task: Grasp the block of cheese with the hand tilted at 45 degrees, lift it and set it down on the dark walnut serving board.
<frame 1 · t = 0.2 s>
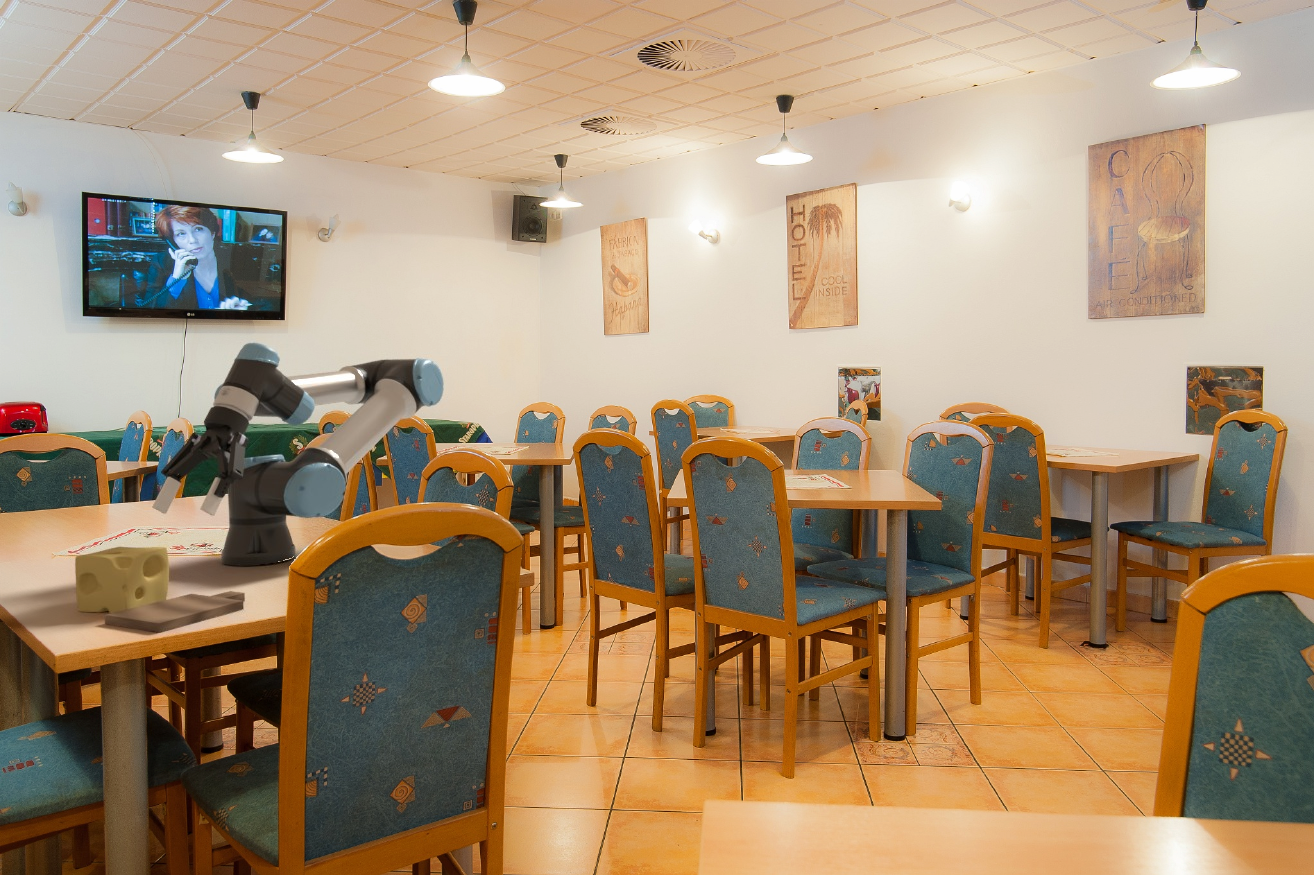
hand: (182, 511, 166), 15 cm above the table, tool tilted 35°, fingers open, 13 cm apart
cheese: (123, 607, 158), on the table
board: (176, 616, 151), on the table
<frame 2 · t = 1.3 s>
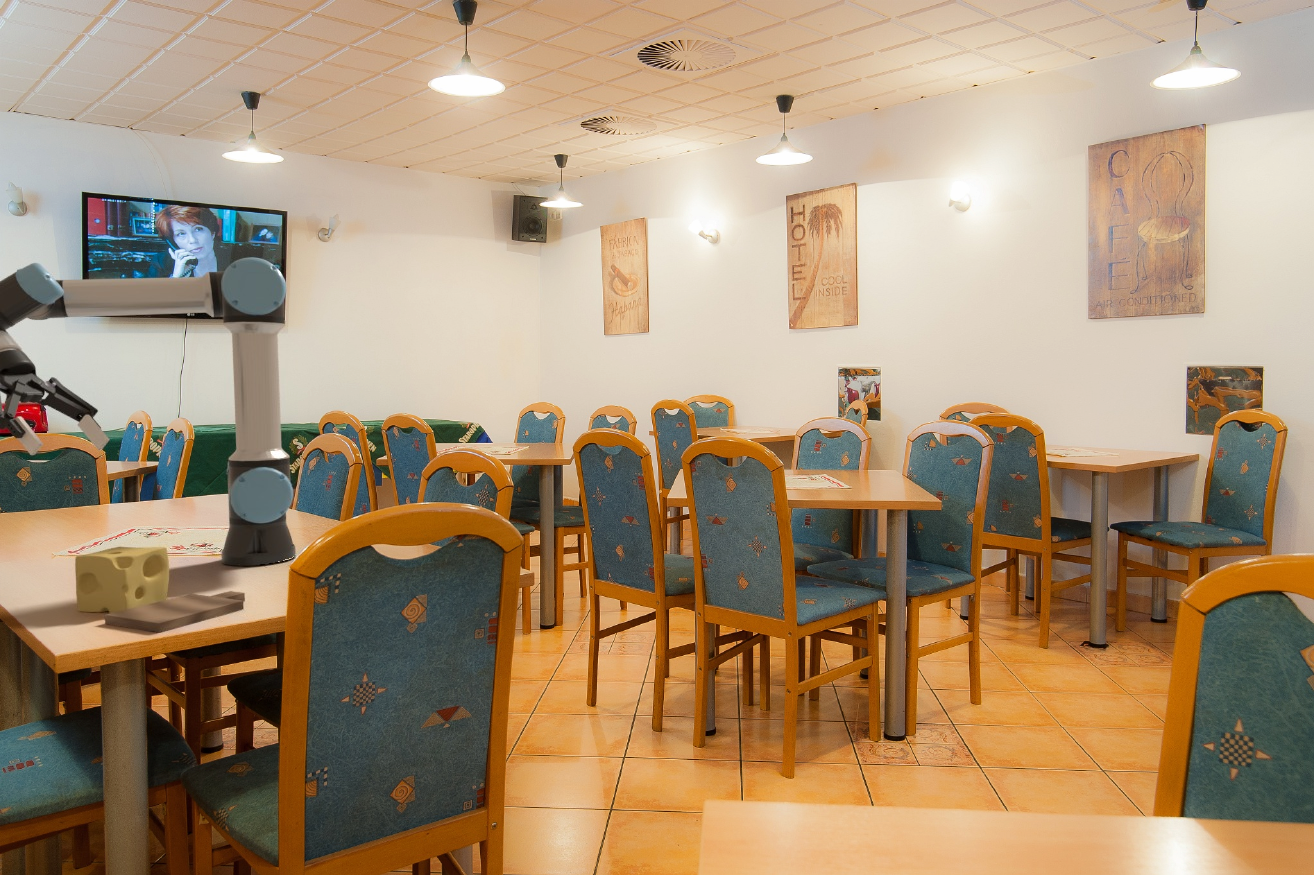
hand: (72, 447, 159), 28 cm above the table, tool tilted 45°, fingers open, 13 cm apart
nothing on the table moved.
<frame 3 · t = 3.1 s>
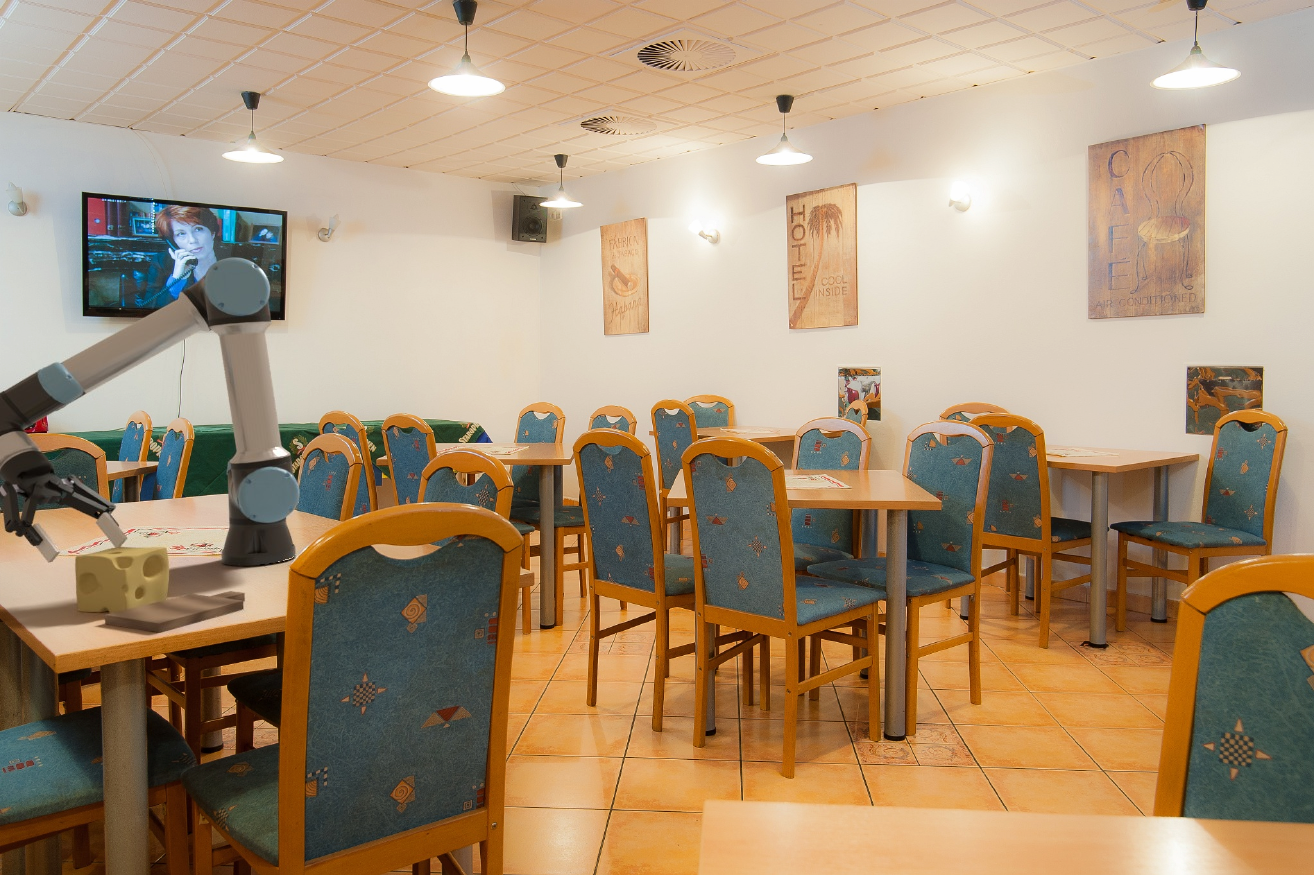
hand: (89, 550, 158), 10 cm above the table, tool tilted 45°, fingers open, 13 cm apart
nothing on the table moved.
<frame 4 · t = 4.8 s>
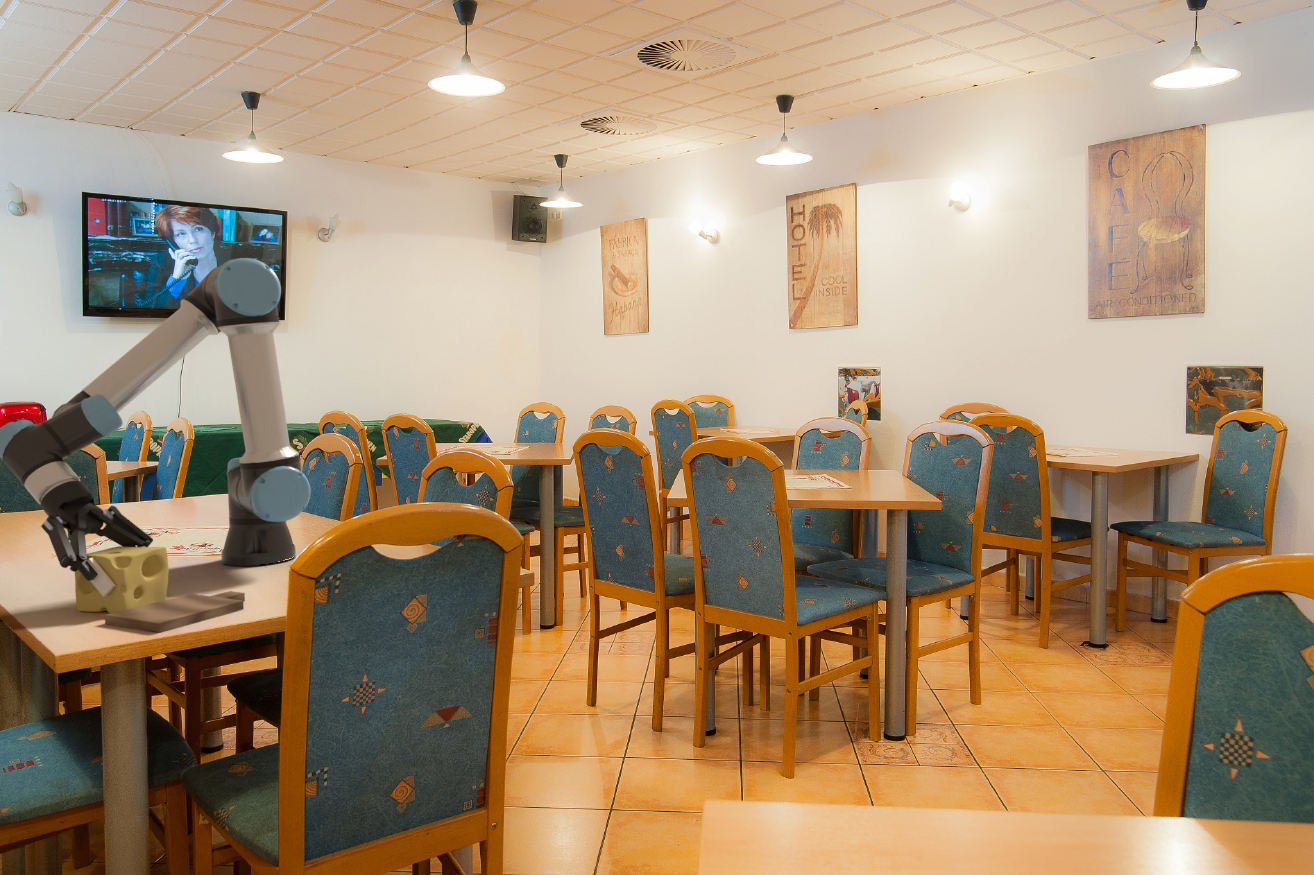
hand: (136, 584, 157), 4 cm above the table, tool tilted 45°, fingers closed on cheese, 10 cm apart
cheese: (122, 607, 158), on the table, touching gripper
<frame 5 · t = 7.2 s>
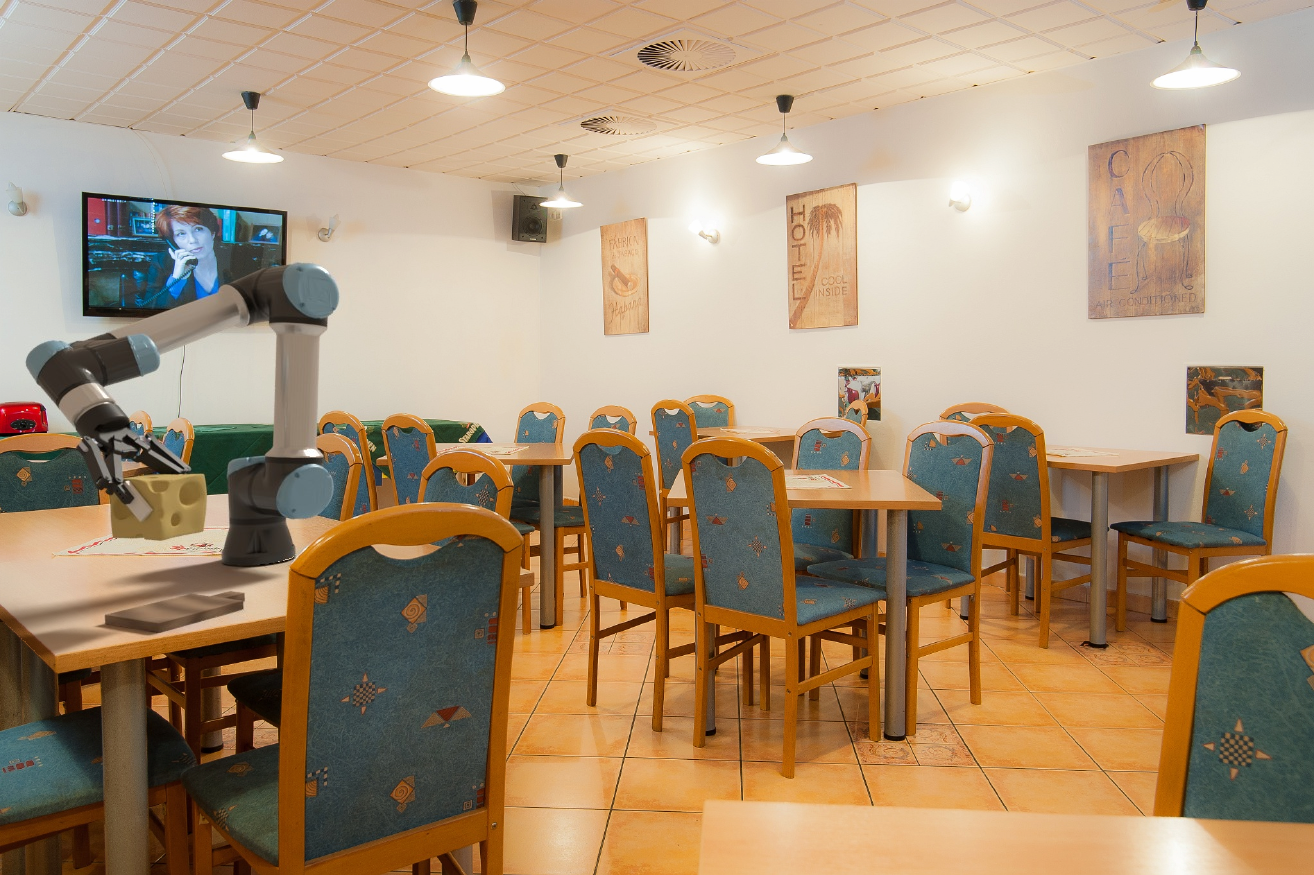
hand: (173, 511, 149), 18 cm above the table, tool tilted 45°, fingers closed on cheese, 10 cm apart
cheese: (159, 536, 150), point 14 cm above the table, touching gripper
when the fingers open (7 cm above the table, at t = 10.0 s): cheese drops 1 cm, resting on board.
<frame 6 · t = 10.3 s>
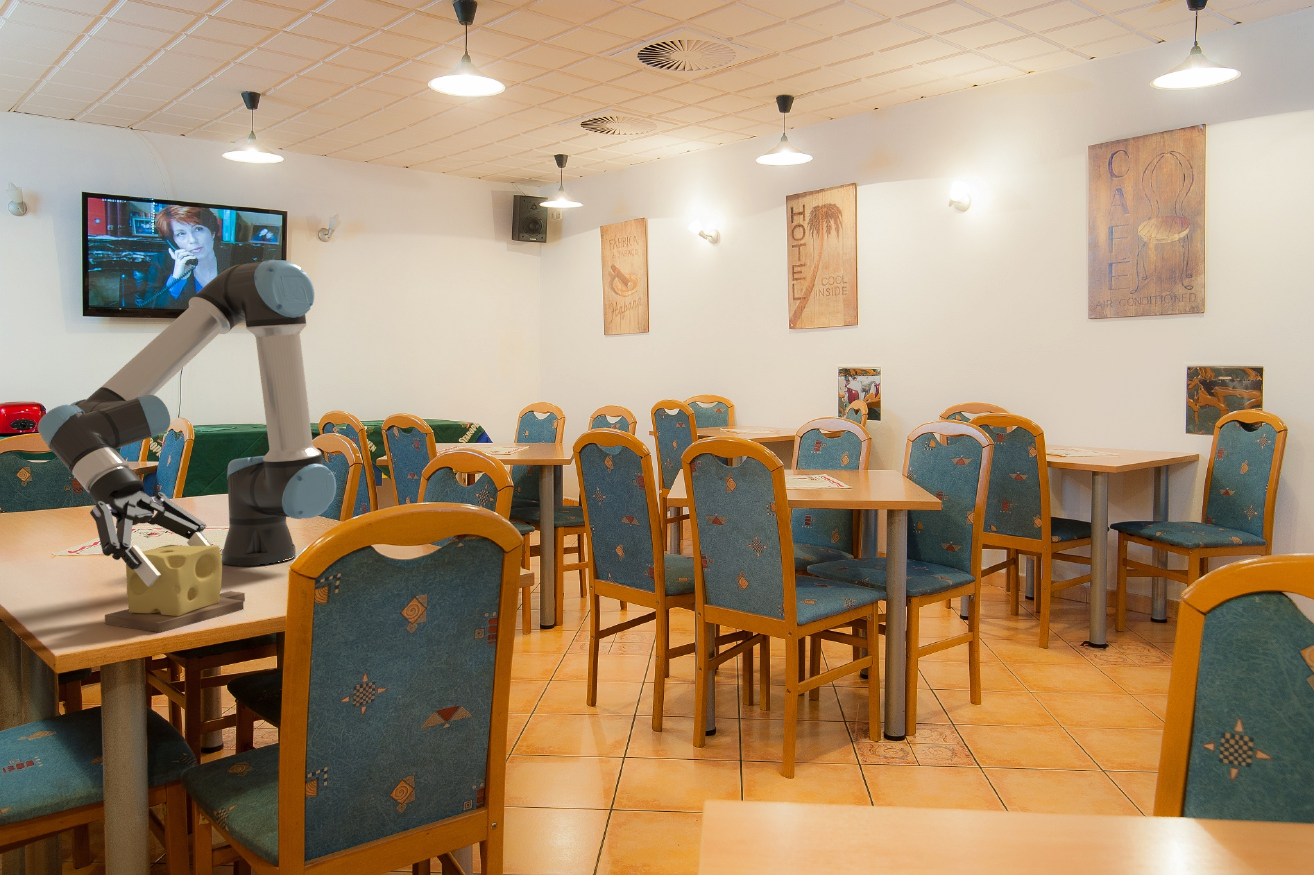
hand: (186, 572, 150), 8 cm above the table, tool tilted 45°, fingers open, 13 cm apart
cheese: (175, 609, 150), point 1 cm above the table, touching board
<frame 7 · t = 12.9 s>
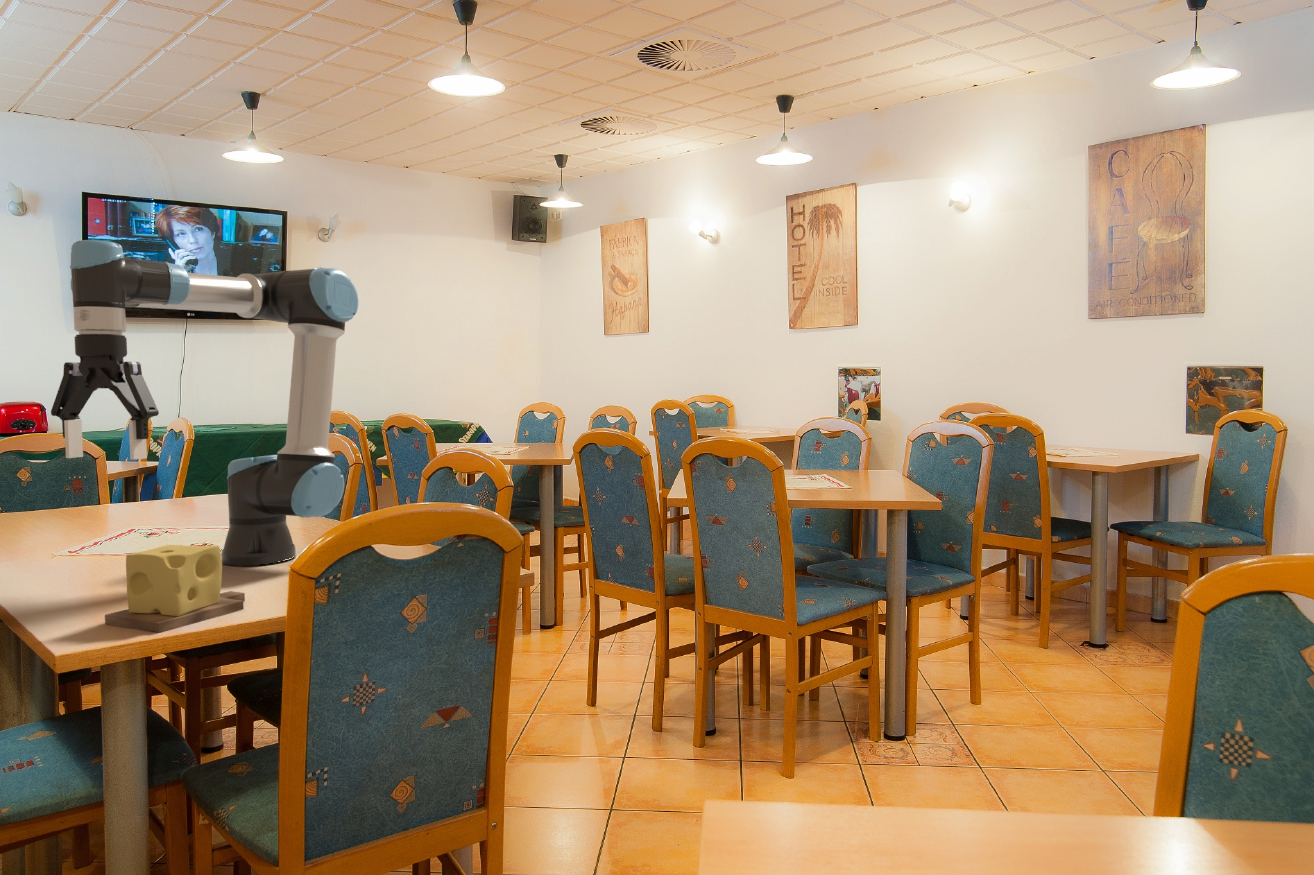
hand: (106, 458, 153), 27 cm above the table, tool pointing down, fingers open, 13 cm apart
nothing on the table moved.
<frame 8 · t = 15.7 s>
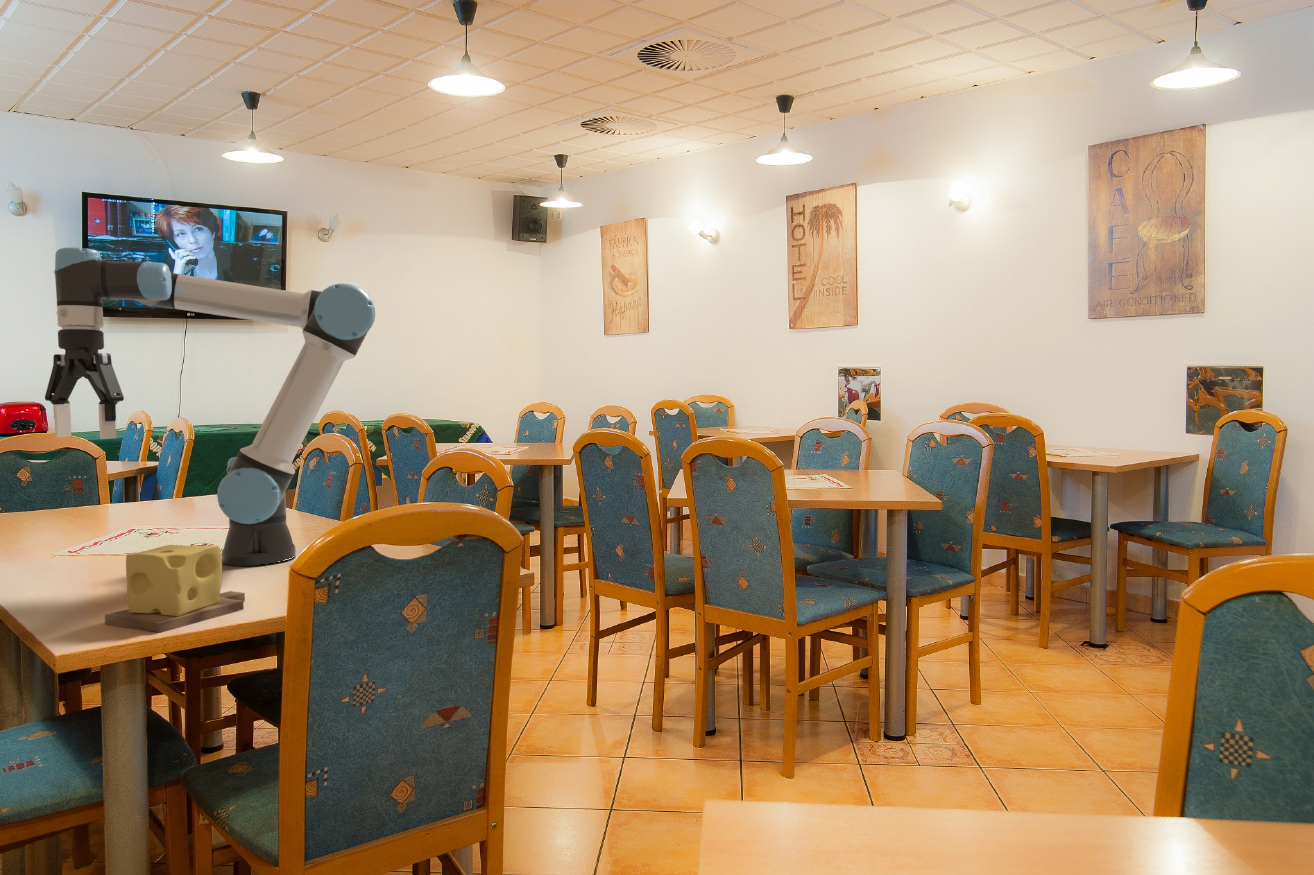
hand: (85, 438, 175), 29 cm above the table, tool pointing down, fingers open, 13 cm apart
nothing on the table moved.
at the end: cheese inside the target area on the board (0.2 cm from its centre), point 1.3 cm above the board's base; cheese tilted 0°; the gripper is holding nothing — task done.
